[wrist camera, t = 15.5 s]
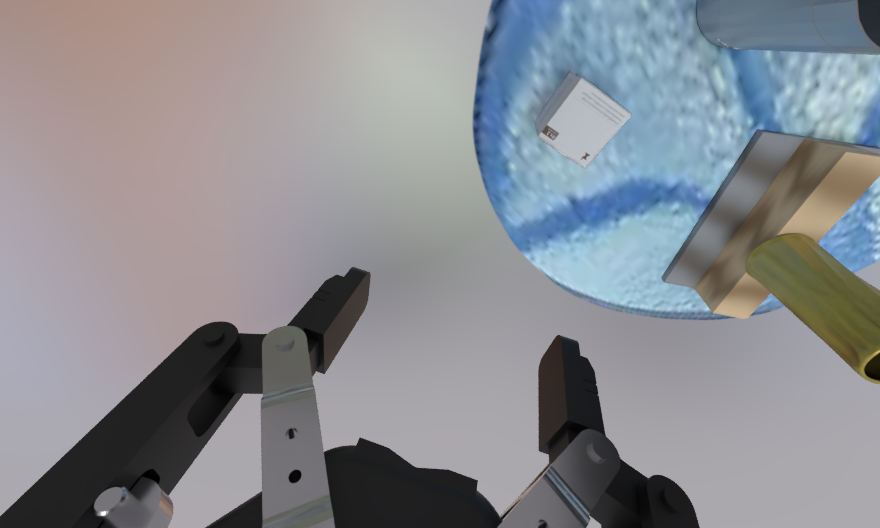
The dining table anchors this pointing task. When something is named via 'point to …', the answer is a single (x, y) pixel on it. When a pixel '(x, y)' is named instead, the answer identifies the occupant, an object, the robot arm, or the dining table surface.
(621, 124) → the skincare box
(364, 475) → the robot arm
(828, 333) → the vase
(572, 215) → the dining table surface
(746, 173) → the ridge
